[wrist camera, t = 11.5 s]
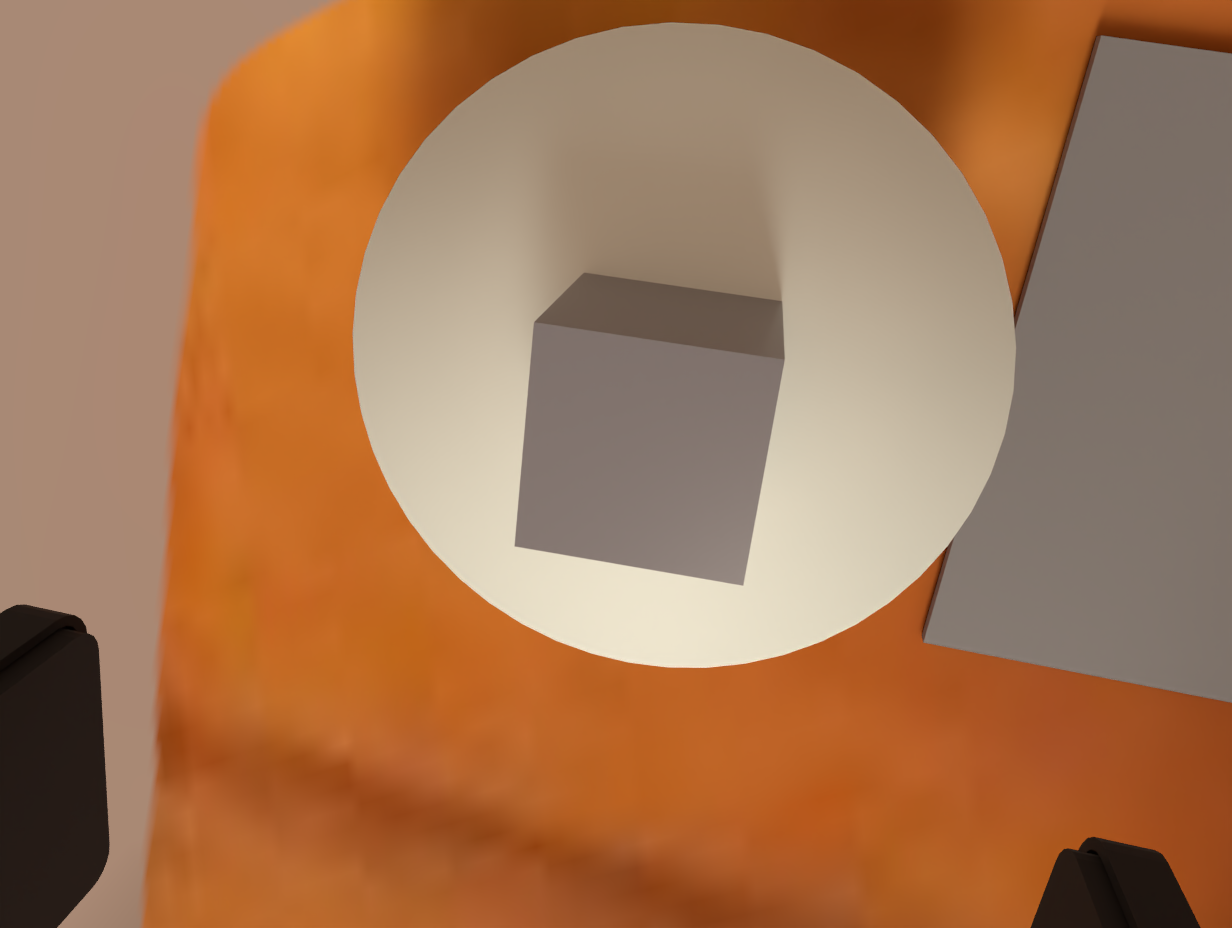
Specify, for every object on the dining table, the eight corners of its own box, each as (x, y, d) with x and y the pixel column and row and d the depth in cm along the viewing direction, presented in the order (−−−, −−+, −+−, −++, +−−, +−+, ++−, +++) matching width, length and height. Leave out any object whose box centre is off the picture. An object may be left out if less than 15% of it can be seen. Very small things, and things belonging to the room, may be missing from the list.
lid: (1093, 71, 20) (1210, 66, 15) (922, 698, 26) (962, 861, 20) (373, -15, 21) (239, -48, 16) (359, 597, 27) (256, 724, 22)
